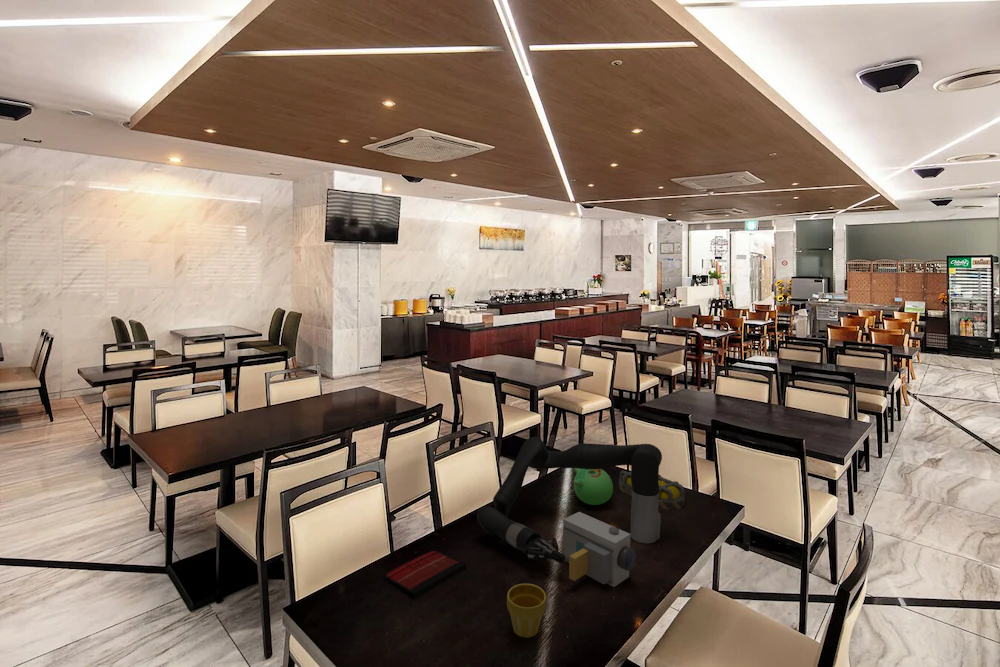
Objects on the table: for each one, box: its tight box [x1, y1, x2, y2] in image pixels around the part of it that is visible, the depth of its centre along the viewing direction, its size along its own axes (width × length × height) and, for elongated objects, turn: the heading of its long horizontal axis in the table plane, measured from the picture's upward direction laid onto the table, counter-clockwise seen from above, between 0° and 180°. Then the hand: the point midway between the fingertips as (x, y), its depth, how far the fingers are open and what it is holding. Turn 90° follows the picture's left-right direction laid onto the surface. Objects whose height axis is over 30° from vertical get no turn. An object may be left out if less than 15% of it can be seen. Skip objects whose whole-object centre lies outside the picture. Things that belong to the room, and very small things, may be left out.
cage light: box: [618, 470, 686, 511], centre depth 218 cm, size 15×8×30 cm
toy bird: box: [572, 468, 614, 506], centre depth 211 cm, size 18×17×15 cm
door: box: [568, 542, 611, 585], centre depth 154 cm, size 10×8×9 cm
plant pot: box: [506, 583, 547, 638], centre depth 136 cm, size 10×10×10 cm
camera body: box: [562, 511, 637, 588], centre depth 163 cm, size 9×23×15 cm, turn 43°
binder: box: [384, 550, 467, 600], centre depth 162 cm, size 16×2×21 cm
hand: (563, 559), depth 157 cm, fingers closed
